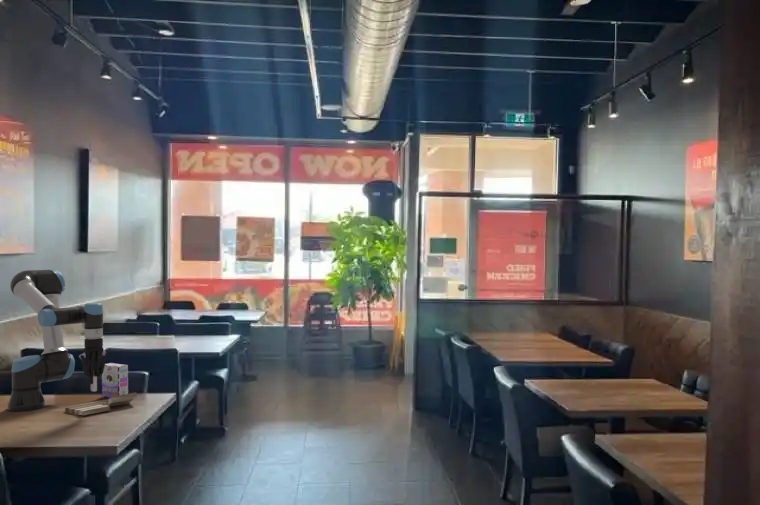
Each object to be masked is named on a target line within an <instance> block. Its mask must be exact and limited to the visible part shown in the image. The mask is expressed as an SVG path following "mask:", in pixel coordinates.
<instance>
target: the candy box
mask: <svg viewBox="0 0 760 505" xmlns="http://www.w3.org/2000/svg"><path fill="white" fill-rule="evenodd" d="M125 394H129V365H128V364H121V363H114V362H109V363H105V367H104V371H103V374H101V397H102V398H104V397H107V398H106V399H110V398H111V397H115V396H120V395H125Z"/></svg>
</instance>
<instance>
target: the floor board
mask: <svg viewBox="0 0 760 505" xmlns="http://www.w3.org/2000/svg"><path fill="white" fill-rule="evenodd" d="M109 399H110V398H105V399H102V400H96V401H95V400H94V401H90V402H85V403H80V404H75V405H70V406H66V407H65V406H64V412H65V413H67V414H70V415H76V414H75V409H80V408H85V407H90V406H96V405H104V403H105V402H107V401H108V400H109Z"/></svg>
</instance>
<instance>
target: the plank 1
mask: <svg viewBox="0 0 760 505" xmlns="http://www.w3.org/2000/svg"><path fill="white" fill-rule="evenodd" d="M110 408H111V407H110V406H107V405H96V406H90V407H85V408H80V409H75V414H74V415H79V416H88V415H92V414H98V413H102V412H107V411H110Z"/></svg>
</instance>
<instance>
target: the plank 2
mask: <svg viewBox="0 0 760 505" xmlns="http://www.w3.org/2000/svg"><path fill="white" fill-rule="evenodd" d="M137 397H138V394H137V392H132V393H128V394H125V395H120V396H115V397H111V398H108V399H109V400H108V401H107V402H105V403H104V405H107V406H110V408H111V406H112V407H116V405H117V406H122V405H126V404H125V403H127V404H130V403H132V401H133V400H135V399H136V398H137ZM121 404H122V405H121Z"/></svg>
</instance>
